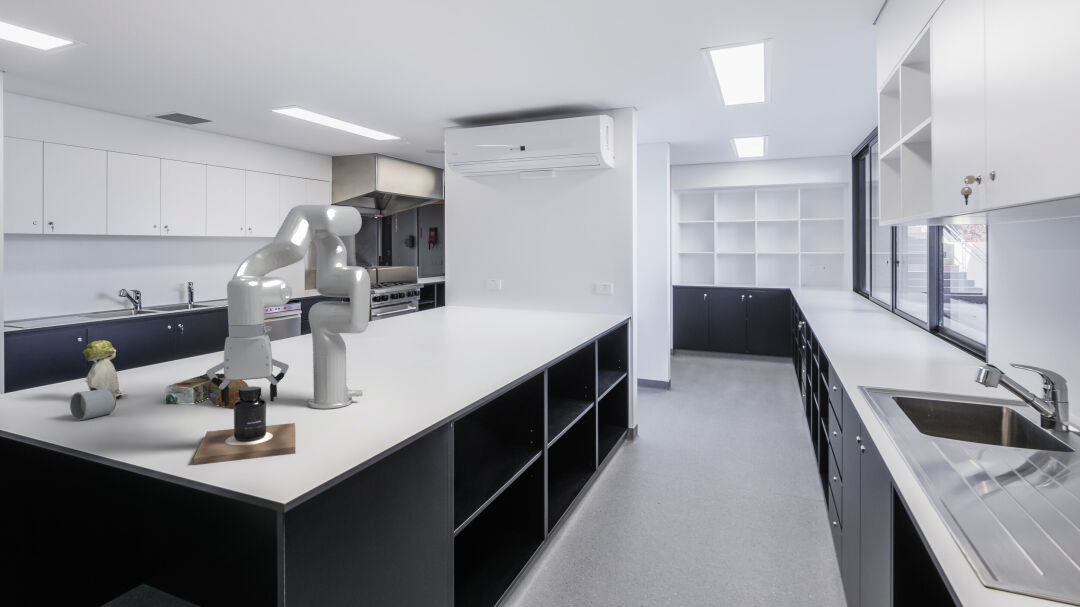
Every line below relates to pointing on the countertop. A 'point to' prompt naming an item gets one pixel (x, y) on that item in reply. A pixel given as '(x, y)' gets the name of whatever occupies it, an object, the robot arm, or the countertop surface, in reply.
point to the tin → (234, 387)
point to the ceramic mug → (92, 404)
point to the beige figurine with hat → (102, 367)
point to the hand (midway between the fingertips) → (250, 402)
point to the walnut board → (245, 445)
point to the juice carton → (189, 390)
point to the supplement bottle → (249, 415)
